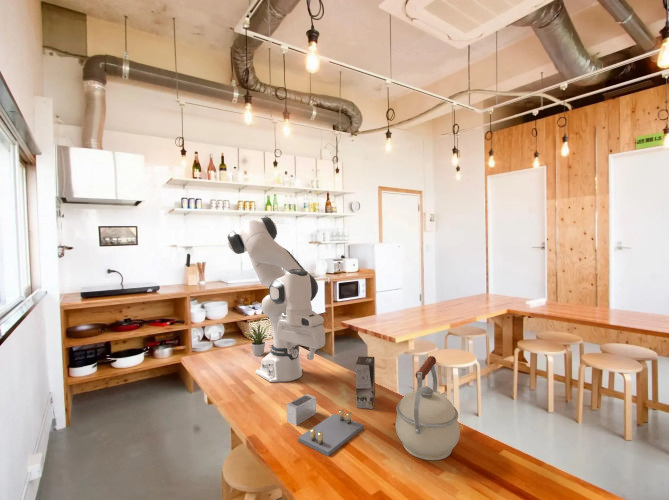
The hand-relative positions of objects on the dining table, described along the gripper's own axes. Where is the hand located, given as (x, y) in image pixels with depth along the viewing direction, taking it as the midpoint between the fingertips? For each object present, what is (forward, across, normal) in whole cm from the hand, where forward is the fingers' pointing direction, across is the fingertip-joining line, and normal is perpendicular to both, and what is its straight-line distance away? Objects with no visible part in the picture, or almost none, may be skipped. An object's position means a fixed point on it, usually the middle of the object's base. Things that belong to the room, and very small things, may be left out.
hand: (300, 356), depth 120 cm
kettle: (+22, +41, +12) cm, 48 cm away
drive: (+22, 0, 0) cm, 22 cm away
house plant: (+21, -64, +34) cm, 76 cm away
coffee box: (+22, +12, +22) cm, 33 cm away
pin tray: (+21, +15, -2) cm, 26 cm away
